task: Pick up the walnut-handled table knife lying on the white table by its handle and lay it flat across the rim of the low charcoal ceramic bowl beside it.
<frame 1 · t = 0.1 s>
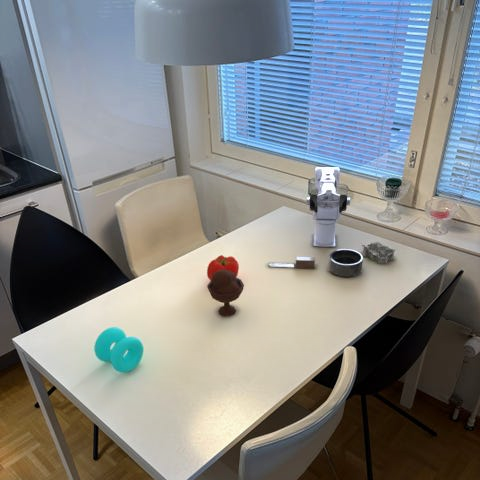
hand: (328, 209, 160), 22 cm above the table, tool horizontal, fingers open, 7 cm apart
egg carton: (377, 257, 178), on the table
donuts: (122, 364, 136), on the table
ice cream bowl: (227, 311, 154), on the table
tomato: (223, 282, 168), on the table
knife: (293, 266, 174), on the table
bowl: (344, 269, 171), on the table
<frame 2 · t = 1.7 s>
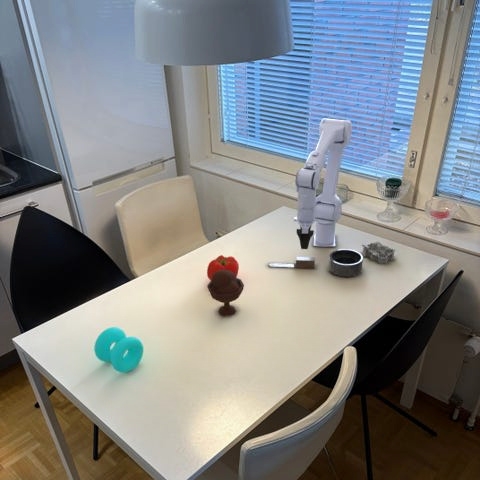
hand: (304, 243, 168), 9 cm above the table, tool pointing down, fingers open, 7 cm apart
nothing on the table moved.
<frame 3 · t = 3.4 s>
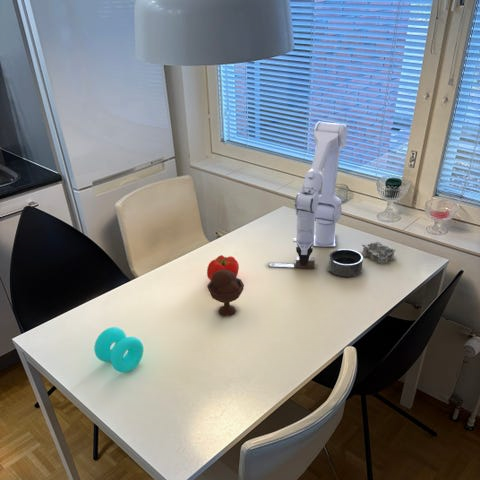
hand: (303, 263, 173), 1 cm above the table, tool pointing down, fingers closed on knife, 2 cm apart
knife: (293, 266, 174), on the table, touching gripper
everything else where it was.
when the fingers open (6 cm above the table, at t = 6.9 s): knife stays where it is, resting on bowl.
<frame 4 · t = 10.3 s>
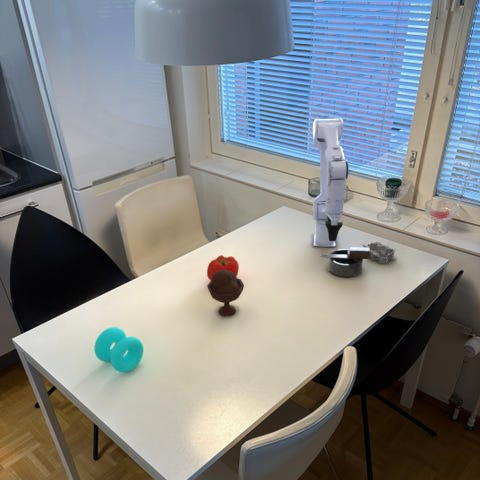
hand: (332, 235, 169), 10 cm above the table, tool pointing down, fingers open, 7 cm apart
knife: (346, 256, 168), point 5 cm above the table, touching bowl
everything else where it was.
at the end: knife 0.0 cm off-centre on the bowl, point 5.0 cm above the bowl's base; knife tilted 0°; the gripper is holding nothing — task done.
